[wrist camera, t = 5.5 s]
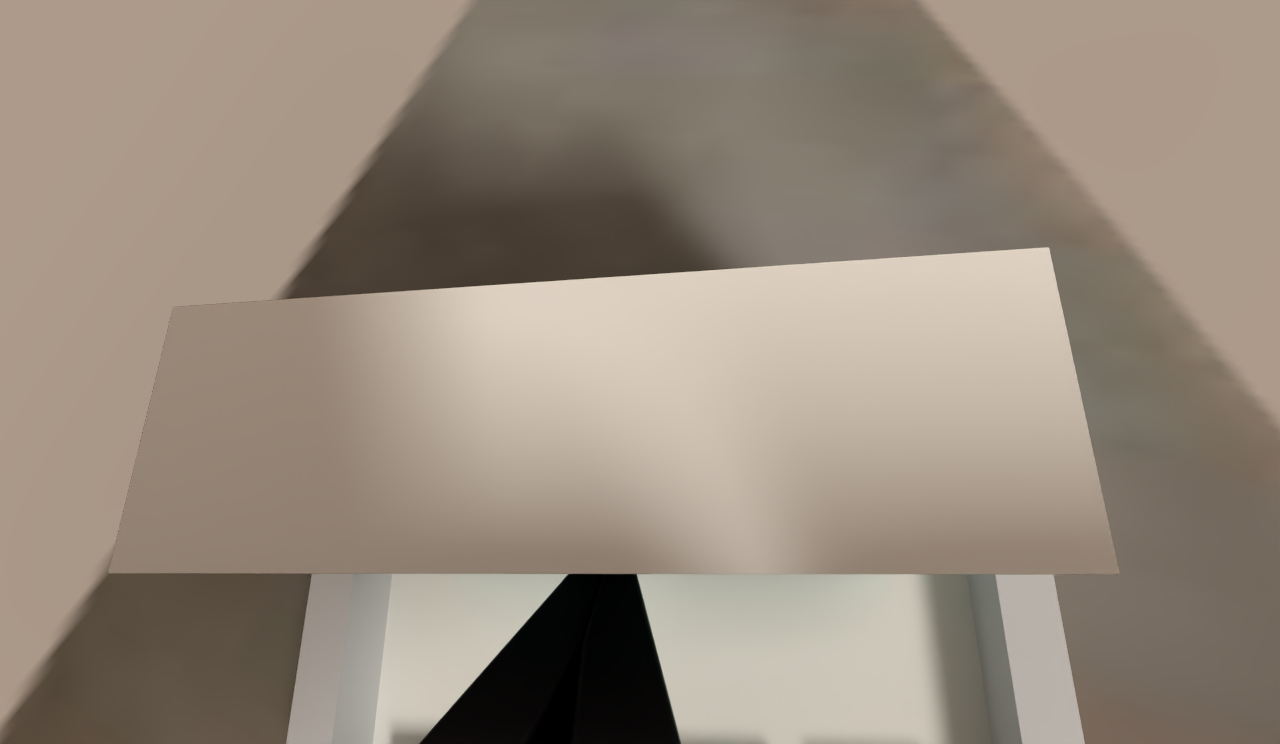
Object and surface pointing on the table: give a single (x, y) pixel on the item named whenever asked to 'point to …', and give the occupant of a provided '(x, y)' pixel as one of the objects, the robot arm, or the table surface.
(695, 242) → the table surface
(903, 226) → the table surface
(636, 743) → the robot arm
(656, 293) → the teal and cream panel
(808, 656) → the white slotted tray
